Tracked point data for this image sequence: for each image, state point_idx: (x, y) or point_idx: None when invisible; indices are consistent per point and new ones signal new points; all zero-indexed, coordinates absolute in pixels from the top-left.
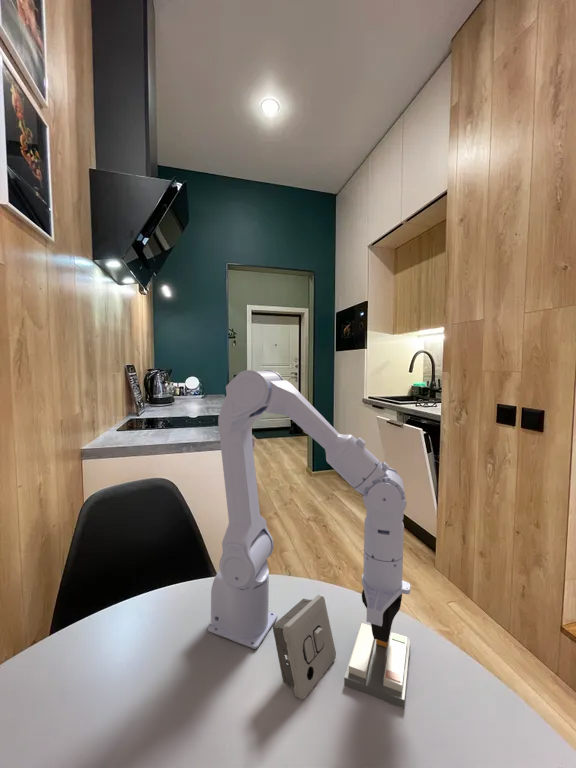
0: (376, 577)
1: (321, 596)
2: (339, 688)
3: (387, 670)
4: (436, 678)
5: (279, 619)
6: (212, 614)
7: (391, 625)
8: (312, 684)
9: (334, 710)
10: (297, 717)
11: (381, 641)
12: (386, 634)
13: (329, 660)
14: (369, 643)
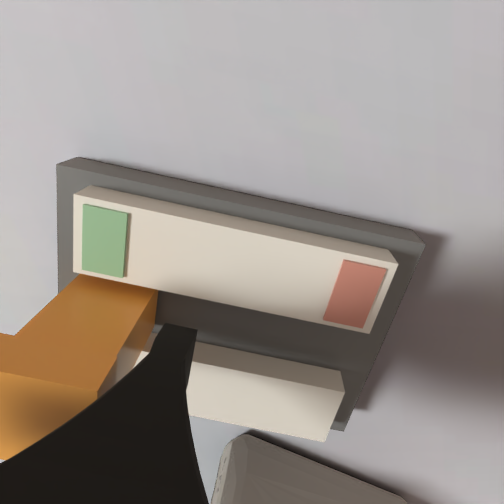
0: None
1: None
2: (350, 417)
3: (328, 317)
4: (234, 51)
5: None
6: None
7: (183, 403)
8: (366, 492)
9: (426, 429)
10: (450, 500)
11: (149, 318)
12: (186, 364)
13: (274, 462)
14: None
